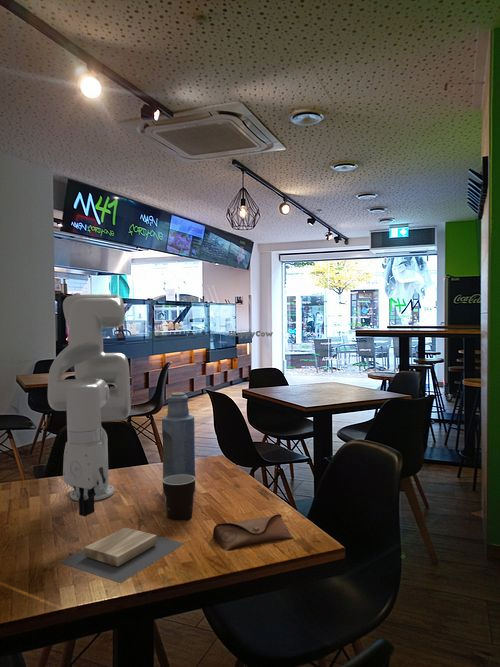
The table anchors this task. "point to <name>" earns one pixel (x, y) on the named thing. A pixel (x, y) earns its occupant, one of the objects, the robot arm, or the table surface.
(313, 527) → the table surface
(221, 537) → the sunglasses case
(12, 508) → the table surface
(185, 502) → the coffee mug
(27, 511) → the table surface
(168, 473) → the bottle
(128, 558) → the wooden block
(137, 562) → the mat
